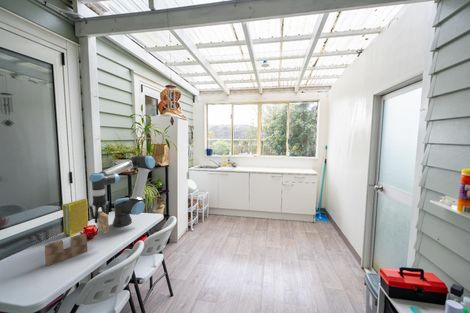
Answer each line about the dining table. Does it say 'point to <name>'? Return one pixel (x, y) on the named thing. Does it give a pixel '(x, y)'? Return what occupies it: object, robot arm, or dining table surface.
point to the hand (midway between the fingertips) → (100, 225)
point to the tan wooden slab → (103, 221)
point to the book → (75, 216)
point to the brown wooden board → (57, 253)
